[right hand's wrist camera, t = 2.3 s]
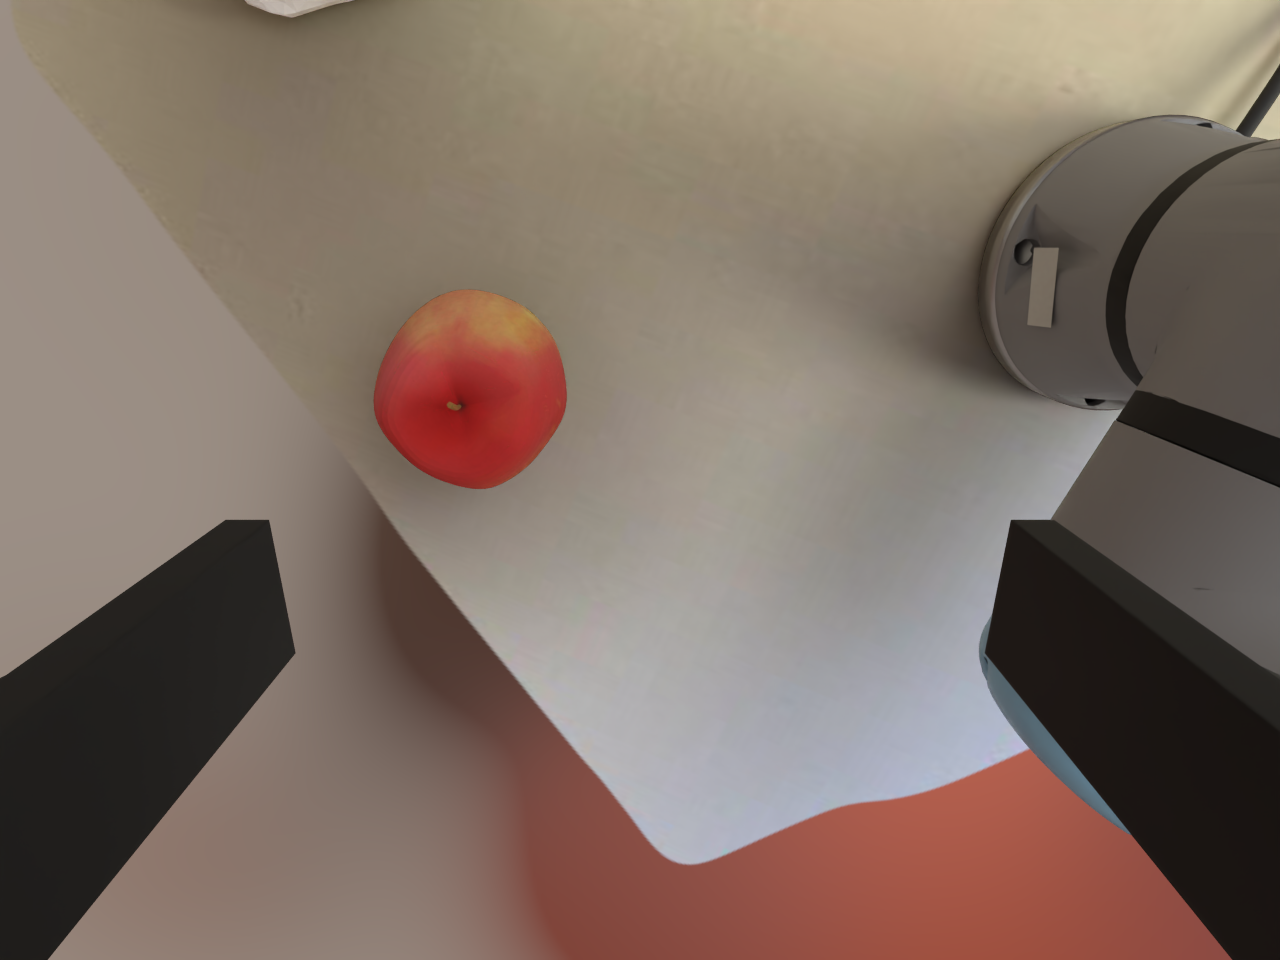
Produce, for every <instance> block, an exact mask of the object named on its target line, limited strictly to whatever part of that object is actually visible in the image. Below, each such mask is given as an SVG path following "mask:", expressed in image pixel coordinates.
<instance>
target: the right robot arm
mask: <svg viewBox="0 0 1280 960" xmlns="http://www.w3.org/2000/svg"><path fill="white" fill-rule="evenodd" d="M1279 94H1280V65H1279V66H1278V68H1277V70H1276V71H1275V73H1274V74H1273V76H1272V77H1271V79H1270V80H1269V82H1268V83H1267V85H1266V86H1265V88H1264V89H1263V91H1262V92H1261V94H1260V95H1259V97H1258V98H1257V100H1256V101H1255V103H1254V104H1253V106H1252V107H1251V109H1250V110H1249V112H1248V113H1247V115H1246V116H1245V118H1244V119H1243V121H1242V122H1241V124H1240V125H1239V127H1238V128H1237V130H1236V131H1235V130H1233V129H1231V128H1228V127H1226V126H1223V125H1221V124H1219V123H1216V122H1214V121H1211V120H1207V119H1203V118H1199V117H1193V116H1186V115H1162V116H1152V117H1147V118H1142V119H1137V120H1132V121H1127V122H1122V123H1118V124H1114V125H1110V126H1107V127H1103V128H1100V129H1098V130H1095V131H1093V132H1090V133H1088V134H1086V135H1084V136H1082V137H1080V138H1078V139H1076V140H1074V141H1072V142H1071V143H1069V144H1067V145H1066V146H1064V147H1063V148H1061V149H1060V150H1058V151H1057V152H1056V153H1054V154H1053V155H1052V156H1050V157H1049V158H1048V159H1046V160H1045V161H1044V162H1043V163H1042V164H1041V165H1040V166H1038V167H1037V168H1036V169H1035V170H1034V171H1033V172H1032V173H1031V174H1030V175H1029V176H1028V177H1027V178H1026V180H1025V181H1024V182H1023V183H1022V184H1021V185H1020V187H1019V188H1018V189H1017V190H1016V192H1015V193H1014V194H1013V196H1012V197H1011V198H1010V200H1009V201H1008V203H1007V204H1006V206H1005V207H1004V209H1003V211H1002V213H1001V214H1000V216H999V218H998V220H997V222H996V224H995V226H994V228H993V230H992V232H991V235H990V238H989V240H988V243H987V246H986V249H985V252H984V256H983V260H982V264H981V270H980V276H979V287H978V302H979V311H980V318H981V322H982V327H983V330H984V333H985V336H986V339H987V341H988V343H989V345H990V348H991V350H992V351H993V353H994V355H995V356H996V358H997V360H998V361H999V362H1000V363H1001V365H1002V366H1003V367H1004V369H1005V370H1006V371H1007V372H1008V373H1009V374H1010V375H1011V376H1012V377H1013V378H1015V379H1016V380H1017V381H1019V382H1020V383H1021V384H1023V385H1024V386H1026V387H1027V388H1029V389H1031V390H1033V391H1035V392H1037V393H1039V394H1041V395H1043V396H1046V397H1048V398H1051V399H1053V400H1055V401H1058V402H1060V403H1063V404H1066V405H1069V406H1073V407H1078V408H1082V409H1090V410H1116V409H1123V410H1122V412H1121V413H1120V415H1119V416H1118V418H1117V419H1116V420H1117V421H1114V422H1113V424H1112V425H1111V427H1110V429H1109V430H1108V432H1107V433H1106V435H1105V436H1104V438H1103V439H1102V441H1101V442H1100V444H1099V446H1098V447H1097V449H1096V450H1095V452H1094V453H1093V455H1092V456H1091V458H1090V459H1089V461H1088V463H1087V464H1086V466H1085V467H1084V469H1083V470H1082V472H1081V473H1080V475H1079V477H1078V478H1077V480H1076V481H1075V483H1074V484H1073V486H1072V487H1071V489H1070V490H1069V492H1068V494H1067V495H1066V497H1065V498H1064V500H1063V501H1062V503H1061V504H1060V506H1059V507H1058V509H1057V511H1056V512H1055V514H1054V515H1053V517H1052V518H1051V520H1011V523H1010V528H1009V533H1008V538H1007V543H1006V548H1005V553H1004V558H1003V563H1002V568H1001V573H1000V578H999V583H998V588H997V593H996V598H995V603H994V608H993V613H992V615H991V617H990V619H989V621H988V622H987V624H986V626H985V627H984V630H983V632H982V635H981V639H980V644H979V658H980V663H981V667H982V672H983V674H984V676H985V678H986V680H987V684H988V688H989V690H990V692H991V695H992V697H993V698H994V700H995V702H996V704H997V705H998V707H999V708H1000V710H1001V712H1002V713H1003V715H1004V716H1005V718H1006V719H1007V721H1008V722H1009V723H1010V725H1011V726H1012V727H1013V729H1014V730H1015V731H1016V733H1017V734H1018V735H1019V736H1020V738H1021V739H1022V740H1023V741H1024V742H1025V744H1026V745H1027V746H1028V747H1029V748H1030V749H1031V750H1032V751H1033V753H1034V754H1035V755H1036V756H1037V757H1038V758H1039V759H1040V760H1041V761H1042V762H1043V763H1044V764H1045V765H1046V766H1047V767H1048V768H1049V769H1050V770H1051V771H1052V772H1053V773H1054V774H1055V775H1056V776H1057V777H1058V778H1059V779H1060V780H1061V781H1062V782H1063V783H1064V784H1065V785H1066V786H1067V787H1068V788H1070V789H1071V790H1072V791H1073V792H1074V793H1075V794H1076V795H1077V796H1078V797H1080V798H1081V799H1082V800H1083V801H1084V802H1085V803H1087V804H1088V805H1089V806H1090V807H1092V808H1093V809H1094V810H1095V811H1097V812H1098V813H1099V814H1100V815H1102V816H1103V817H1104V818H1106V819H1107V820H1109V821H1110V822H1111V823H1113V824H1114V825H1116V826H1117V827H1118V828H1120V829H1122V830H1123V831H1125V832H1126V833H1128V834H1130V835H1132V836H1133V837H1134V839H1135V840H1136V841H1137V842H1138V844H1139V845H1140V846H1141V847H1142V849H1143V850H1144V851H1145V852H1146V853H1147V855H1148V856H1149V857H1150V858H1151V860H1152V861H1153V862H1154V863H1155V865H1156V866H1157V867H1158V868H1159V869H1160V871H1161V872H1162V873H1163V874H1164V876H1165V877H1166V878H1167V879H1168V881H1169V882H1170V883H1171V884H1172V886H1173V887H1174V888H1175V889H1176V891H1177V892H1178V893H1179V894H1180V896H1181V897H1182V898H1183V899H1184V900H1185V902H1186V903H1187V904H1188V905H1189V907H1190V908H1191V909H1192V910H1193V912H1194V913H1195V914H1196V915H1197V917H1198V918H1199V919H1200V920H1201V921H1202V923H1203V924H1204V925H1205V926H1206V928H1207V929H1208V930H1209V931H1210V933H1211V934H1212V935H1213V936H1214V938H1215V939H1216V940H1217V941H1218V943H1219V944H1220V945H1221V946H1222V947H1223V949H1224V950H1225V951H1226V952H1227V954H1228V955H1229V956H1230V957H1231V959H1232V960H1280V139H1276V140H1266V139H1262V138H1257V137H1251V135H1252V134H1253V132H1254V131H1255V129H1256V128H1257V126H1258V125H1259V123H1260V122H1261V121H1262V119H1263V118H1264V116H1265V115H1266V113H1267V112H1268V110H1269V109H1270V107H1271V106H1272V104H1273V103H1274V101H1275V100H1276V98H1277V97H1278V95H1279ZM1133 427H1134V428H1133ZM1135 428H1136V429H1135ZM1140 430H1141V431H1140ZM1143 431H1144V432H1143ZM1145 432H1146V433H1145ZM294 654H295V648H294V643H293V638H292V633H291V628H290V623H289V618H288V613H287V608H286V603H285V598H284V593H283V588H282V583H281V578H280V573H279V568H278V563H277V558H276V553H275V548H274V543H273V538H272V533H271V528H270V523H269V520H225V521H223V522H222V523H221V524H219V525H218V526H216V527H215V528H214V529H212V530H211V531H209V532H208V533H207V534H205V535H204V536H202V537H201V538H200V539H198V540H197V541H195V542H194V543H192V544H191V545H190V546H188V547H187V548H185V549H184V550H182V551H181V552H180V553H178V554H177V555H175V556H174V557H173V558H171V559H170V560H168V561H167V562H166V563H164V564H163V565H161V566H160V567H158V568H157V569H156V570H154V571H153V572H151V573H150V574H149V575H147V576H146V577H144V578H143V579H142V580H140V581H139V582H137V583H136V584H134V585H133V586H132V587H130V588H129V589H127V590H126V591H125V592H123V593H122V594H120V595H119V596H117V597H116V598H115V599H113V600H112V601H110V602H109V603H108V604H106V605H105V606H103V607H102V608H101V609H99V610H98V611H96V612H95V613H93V614H92V615H91V616H89V617H88V618H86V619H85V620H84V621H82V622H81V623H79V624H78V625H76V626H75V627H74V628H72V629H71V630H69V631H68V632H67V633H65V634H64V635H62V636H61V637H60V638H58V639H57V640H55V641H54V642H52V643H51V644H50V645H48V646H47V647H45V648H44V649H43V650H41V651H40V652H38V653H37V654H35V655H34V656H33V657H31V658H30V659H28V660H27V661H26V662H24V663H23V664H21V665H20V666H19V667H17V668H16V669H14V670H13V671H11V672H10V673H9V674H7V675H6V676H4V677H1V678H0V960H48V959H49V957H50V956H51V955H52V954H53V952H54V951H55V950H56V949H57V947H58V946H59V945H60V944H61V942H62V941H63V940H64V939H65V938H66V936H67V935H68V934H69V933H70V931H71V930H72V929H73V928H74V926H75V925H76V924H77V923H78V921H79V920H80V919H81V918H82V917H83V915H84V914H85V913H86V912H87V910H88V909H89V908H90V907H91V905H92V904H93V903H94V902H95V900H96V899H97V898H98V897H99V896H100V894H101V893H102V892H103V891H104V889H105V888H106V887H107V886H108V884H109V883H110V882H111V881H112V879H113V878H114V877H115V876H116V874H117V873H118V872H119V871H120V870H121V868H122V867H123V866H124V865H125V863H126V862H127V861H128V860H129V858H130V857H131V856H132V855H133V853H134V852H135V851H136V850H137V849H138V847H139V846H140V845H141V844H142V842H143V841H144V840H145V839H146V837H147V836H148V835H149V834H150V832H151V831H152V830H153V829H154V827H155V826H156V825H157V824H158V823H159V821H160V820H161V819H162V818H163V816H164V815H165V814H166V813H167V811H168V810H169V809H170V808H171V806H172V805H173V804H174V803H175V801H176V800H177V799H178V798H179V796H180V795H181V794H182V793H183V792H184V790H185V789H186V788H187V787H188V785H189V784H190V783H191V782H192V780H193V779H194V778H195V777H196V775H197V774H198V773H199V772H200V771H201V769H202V768H203V767H204V766H205V764H206V763H207V762H208V761H209V759H210V758H211V757H212V756H213V754H214V753H215V752H216V751H217V749H218V748H219V747H220V746H221V745H222V743H223V742H224V741H225V740H226V738H227V737H228V736H229V735H230V733H231V732H232V731H233V730H234V728H235V727H236V726H237V725H238V724H239V722H240V721H241V720H242V719H243V717H244V716H245V715H246V714H247V712H248V711H249V710H250V709H251V707H252V706H253V705H254V704H255V702H256V701H257V700H258V699H259V698H260V696H261V695H262V694H263V693H264V691H265V690H266V689H267V688H268V686H269V685H270V684H271V683H272V681H273V680H274V679H275V678H276V677H277V675H278V674H279V673H280V672H281V670H282V669H283V668H284V667H285V665H286V664H287V663H288V662H289V660H290V659H291V658H292V657H293V656H294Z"/></svg>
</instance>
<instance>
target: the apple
mask: <svg viewBox="0 0 1280 960" xmlns="http://www.w3.org/2000/svg"><path fill="white" fill-rule="evenodd" d="M566 400H567V392H566V381H565V375H564V369H563V365H562V360H561V357H560V353H559V351H558V348H557V345H556V343H555V341H554V339H553V337H552V335H551V334H550V332H549V331H548V330H547V328H546V327H545V326H544V325H543V324H542V323H541V322H540V321H539V319H538V318H537V317H536V316H535V315H534V314H533V313H531V312H530V311H529V310H528V309H526V308H525V307H523V306H522V305H520V304H518V303H516V302H514V301H512V300H510V299H508V298H505V297H502V296H500V295H497V294H493V293H490V292H485V291H480V290H457V291H451V292H449V293H446V294H443V295H440V296H438V297H436V298H434V299H432V300H431V301H429V302H428V303H426V304H425V305H424V306H422V307H421V308H420V309H419V310H417V311H416V312H415V313H414V314H413V315H412V316H411V317H410V318H409V319H408V320H407V322H406V323H405V324H404V325H403V326H402V328H401V329H400V330H399V332H398V333H397V335H396V336H395V338H394V339H393V341H392V343H391V345H390V346H389V348H388V350H387V352H386V355H385V357H384V359H383V362H382V364H381V367H380V370H379V373H378V376H377V380H376V385H375V391H374V411H375V416H376V419H377V422H378V424H379V426H380V428H381V429H382V431H383V433H384V434H385V436H386V437H387V438H388V440H389V441H390V442H391V443H392V444H393V446H394V447H395V448H396V449H397V450H398V451H399V452H400V453H401V454H402V455H403V456H404V457H405V458H406V459H407V460H408V461H409V462H411V463H412V464H413V465H414V466H416V467H417V468H418V469H420V470H421V471H423V472H425V473H426V474H428V475H430V476H432V477H434V478H437V479H439V480H441V481H444V482H447V483H450V484H453V485H457V486H461V487H466V488H472V489H486V488H492V487H494V486H497V485H500V484H502V483H504V482H506V481H508V480H509V479H511V478H513V477H514V476H516V475H517V474H518V473H520V472H521V471H522V470H523V469H525V468H526V467H527V466H528V465H529V464H530V463H531V462H532V461H533V460H534V459H535V458H536V457H537V455H538V454H539V453H540V452H541V450H542V449H543V448H544V447H545V445H546V444H547V443H548V441H549V440H550V438H551V437H552V435H553V434H554V432H555V431H556V429H557V428H558V426H559V424H560V422H561V420H562V418H563V415H564V412H565V408H566Z"/></svg>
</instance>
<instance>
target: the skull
mask: <svg viewBox="0 0 1280 960" xmlns="http://www.w3.org/2000/svg"><path fill="white" fill-rule="evenodd" d="M245 1H246V2H247V3H248V4H249V5H252V6H254V7H257V8H260V9H262V10H265V11H267V12H270V13H274V14H278V15H282V16H286V17H291V18H293V17H296V16H299V15H302V14H306V13H309V12H312V11H315V10H318V9H321V8H325V7H328V6H331V5H334V4H339V3H344V2H348V1H353V0H245Z"/></svg>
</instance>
